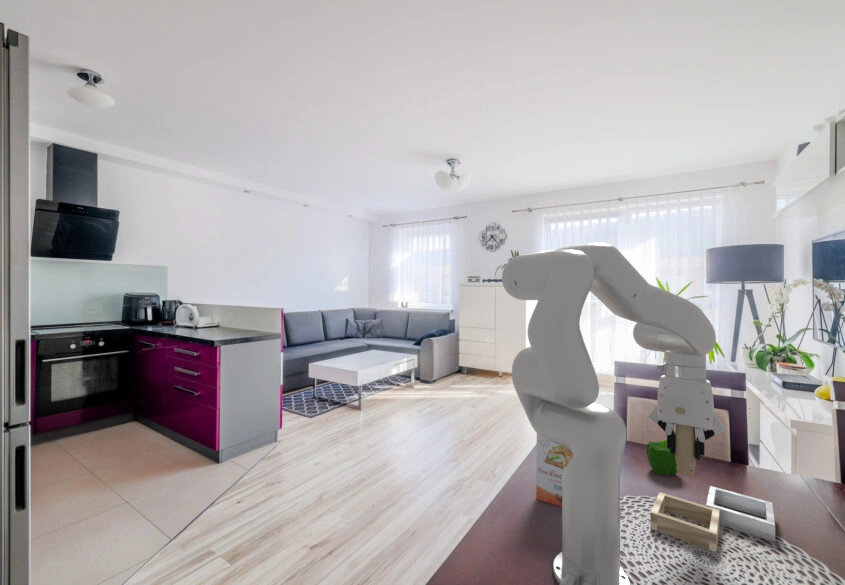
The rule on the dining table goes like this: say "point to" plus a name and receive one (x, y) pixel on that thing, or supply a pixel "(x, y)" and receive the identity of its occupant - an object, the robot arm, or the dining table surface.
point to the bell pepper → (661, 458)
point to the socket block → (740, 519)
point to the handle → (685, 447)
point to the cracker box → (550, 470)
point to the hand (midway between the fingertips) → (685, 453)
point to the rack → (683, 528)
